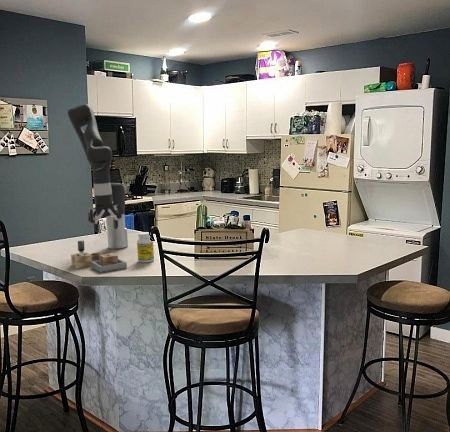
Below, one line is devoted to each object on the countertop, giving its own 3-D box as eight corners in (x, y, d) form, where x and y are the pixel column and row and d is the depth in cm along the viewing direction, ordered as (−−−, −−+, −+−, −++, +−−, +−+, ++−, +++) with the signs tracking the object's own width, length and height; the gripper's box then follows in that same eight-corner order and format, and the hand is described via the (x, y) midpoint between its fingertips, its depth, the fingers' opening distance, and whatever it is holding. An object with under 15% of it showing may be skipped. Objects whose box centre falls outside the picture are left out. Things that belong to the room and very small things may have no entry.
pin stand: (99, 258, 235) (98, 252, 234) (102, 260, 231) (102, 254, 230) (88, 260, 232) (88, 254, 232) (92, 262, 228) (91, 256, 228)
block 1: (87, 262, 228) (86, 252, 227) (92, 265, 222) (91, 254, 221) (71, 265, 224) (70, 254, 223) (76, 268, 218) (75, 257, 217)
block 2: (113, 264, 222) (112, 252, 221) (118, 266, 217) (117, 255, 216) (100, 266, 218) (99, 255, 218) (105, 269, 213) (104, 257, 213)
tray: (116, 263, 225) (116, 257, 225) (126, 268, 216) (126, 262, 215) (91, 267, 219) (91, 261, 219) (100, 272, 210) (100, 266, 209)
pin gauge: (84, 264, 225) (83, 240, 223) (86, 265, 223) (84, 241, 221) (78, 265, 224) (76, 241, 222) (79, 266, 221) (78, 242, 220)
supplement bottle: (153, 258, 232) (151, 231, 230) (154, 261, 225) (153, 233, 223) (137, 259, 231) (136, 232, 229) (138, 263, 224) (136, 235, 222)
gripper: (114, 190, 223) (118, 226, 225) (83, 194, 215) (87, 231, 217) (121, 192, 216) (125, 228, 219) (90, 196, 208) (93, 234, 211)
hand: (106, 230), depth 218 cm, fingers open, 8 cm apart
